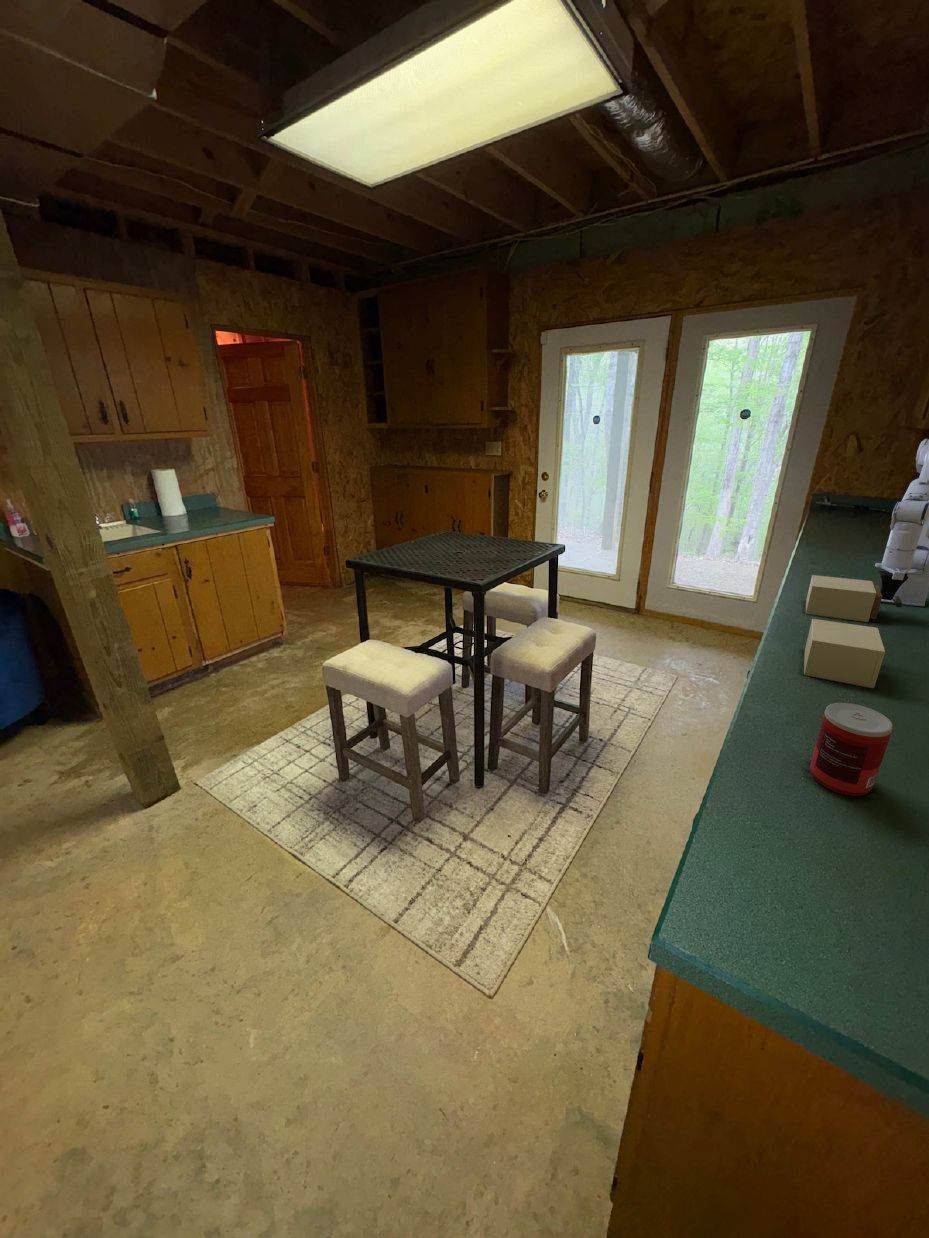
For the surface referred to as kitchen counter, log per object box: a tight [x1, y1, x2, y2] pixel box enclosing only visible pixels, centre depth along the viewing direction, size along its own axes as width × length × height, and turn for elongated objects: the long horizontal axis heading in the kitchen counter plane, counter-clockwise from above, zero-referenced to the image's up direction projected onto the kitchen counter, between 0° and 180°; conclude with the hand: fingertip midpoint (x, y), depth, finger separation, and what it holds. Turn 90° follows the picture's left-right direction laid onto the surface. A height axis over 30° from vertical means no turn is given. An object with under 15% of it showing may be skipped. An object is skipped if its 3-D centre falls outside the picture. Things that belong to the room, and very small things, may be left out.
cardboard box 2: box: [803, 618, 886, 689], centre depth 103 cm, size 14×12×8 cm
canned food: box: [809, 702, 893, 797], centre depth 70 cm, size 8×8×11 cm
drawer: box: [869, 584, 904, 620], centre depth 130 cm, size 17×10×6 cm, turn 56°
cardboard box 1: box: [805, 574, 876, 623], centre depth 133 cm, size 14×12×8 cm
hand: (885, 599), depth 127 cm, fingers closed
